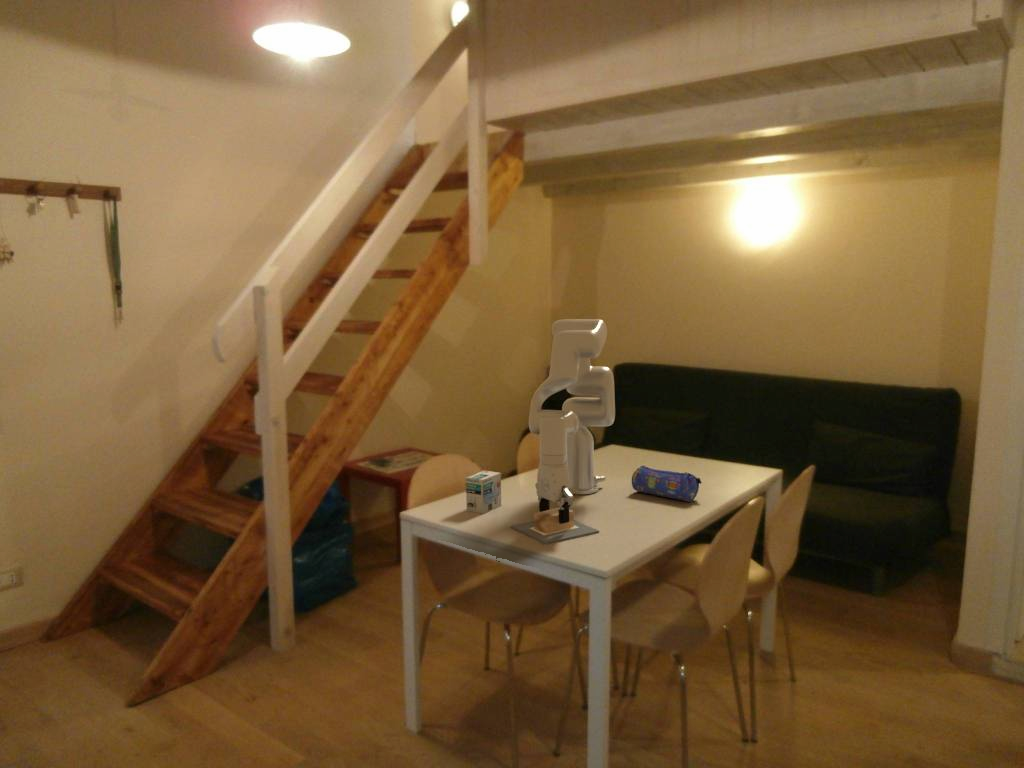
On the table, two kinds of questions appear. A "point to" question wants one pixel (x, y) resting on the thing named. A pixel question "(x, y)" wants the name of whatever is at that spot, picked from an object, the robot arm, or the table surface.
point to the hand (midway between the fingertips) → (554, 518)
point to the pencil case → (666, 483)
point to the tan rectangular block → (551, 521)
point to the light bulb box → (483, 491)
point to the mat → (555, 536)
